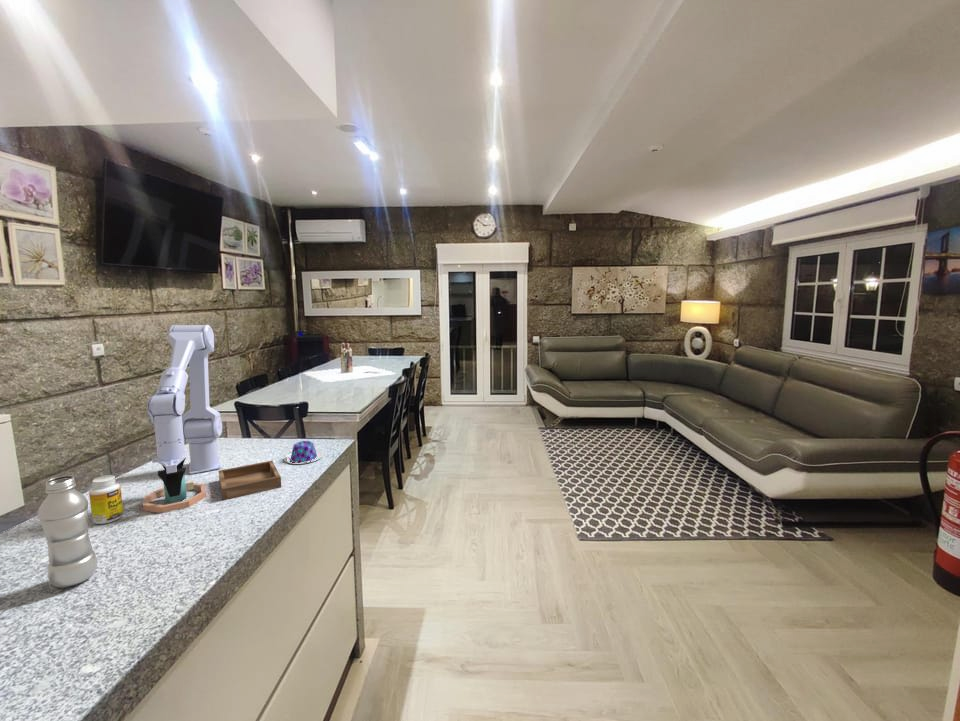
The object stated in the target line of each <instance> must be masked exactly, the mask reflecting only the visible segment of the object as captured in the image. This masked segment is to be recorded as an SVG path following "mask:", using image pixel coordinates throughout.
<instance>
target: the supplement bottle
mask: <svg viewBox="0 0 960 721" xmlns="http://www.w3.org/2000/svg"><path fill="white" fill-rule="evenodd" d="M121 486H122V485H121V484H120V483H119V482H117V481H116V476H115V475H114V474H105V475H101V476H98V477H95V478H93V480H92V487H90V489H89V490H88V495H89V504H90V509H91V510H90V511H91V519H92V522H93V523H94V524H96V525H103V524H109V523H113V522H115V521H117V520H119V519H121V518H122V517H123V516H124V505H123V498H122V488H121Z"/></svg>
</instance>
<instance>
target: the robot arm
mask: <svg viewBox="0 0 960 721" xmlns="http://www.w3.org/2000/svg"><path fill="white" fill-rule="evenodd" d="M167 336H168V341H169V344H170V346H171V348H172V351H171V355H170V361H169V362H170V363H169V367H168V368H166V369H165V370H163V371H162V372H161V376H160V380H159V383H158V386H157V388H156V391H155V393H154V394H153V395H151V396H150V397H149V398H148V400H147V407H146V409H147V413H148V415H149V417H150V422H151V424H152V425H154V426H153V427H154V434H155V446H156V455H157V457H156V456H155V457H153V458H151V463H153V464H154V463H158V464H160V465H161V466H162V467H163V469H164V470H158V471H157V475H158V478H159V479H160V480H161V481H162V483H163V482H164V483H163V485H164V484H165V486H166V489H167V492H168V494H169V496H170V497H173V496H178V495H180V492H181V483H182V478H183V475H185V474H186V471H187V467H184V463H185V461H186V459H187V453H186V448H185V443H187V444H188V450H189V452H188V454H189V461H190V462H189V464H188V467H189V468H188V471H189V475H192V474H198V473H203V472H209V471H214V470H215V471H216V470H220V469H222V465H221V460H220V457H219V452H218V438H220V436H221V435H222V433H223V421H222V417H221V416H222V415H221V412H219V411H218V410H216V409H214V408H212V407H211V405H210V381H209V380H210V378H209V354H210V353H213V352H214V351H215V334H214V331H213V328H212V327H211V326H210V325H209V324H205V325H204V324H193V325H190V324H189V325H188V324H185V325H184V324H183V325H182V324H172V325H171V326H170V327H169V329H168V331H167ZM187 368H188V372H189V375H188V372H186V371H187ZM188 380H189V398H190V400H189V402H190V403H189V404H190V406H189V407H190V409H189V410H188V411H186V412H185V413H184V411H185V409H186V394H185V390H186V386H187V384H188Z"/></svg>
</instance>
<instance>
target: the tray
mask: <svg viewBox="0 0 960 721" xmlns="http://www.w3.org/2000/svg"><path fill="white" fill-rule="evenodd" d="M218 480H219V485H220V486H219V487H220V491H221V495H222V496H221V497H222V500H223V501H226V500H230V499H234V498H239V497H244V496H247V495H251V494H252V495H253V494H257V493H261V492H266V491H270V490H275V489H279V488H282V477H281V474H280V473H279V471H278V469H277V467H276V465H275V463H274V462H273V460H267V461H263V462H257V463H253V464H252V463H251V464H247V465H242V466H237V467H231V468H226V469H221V470H220V469H219V470H218Z"/></svg>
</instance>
